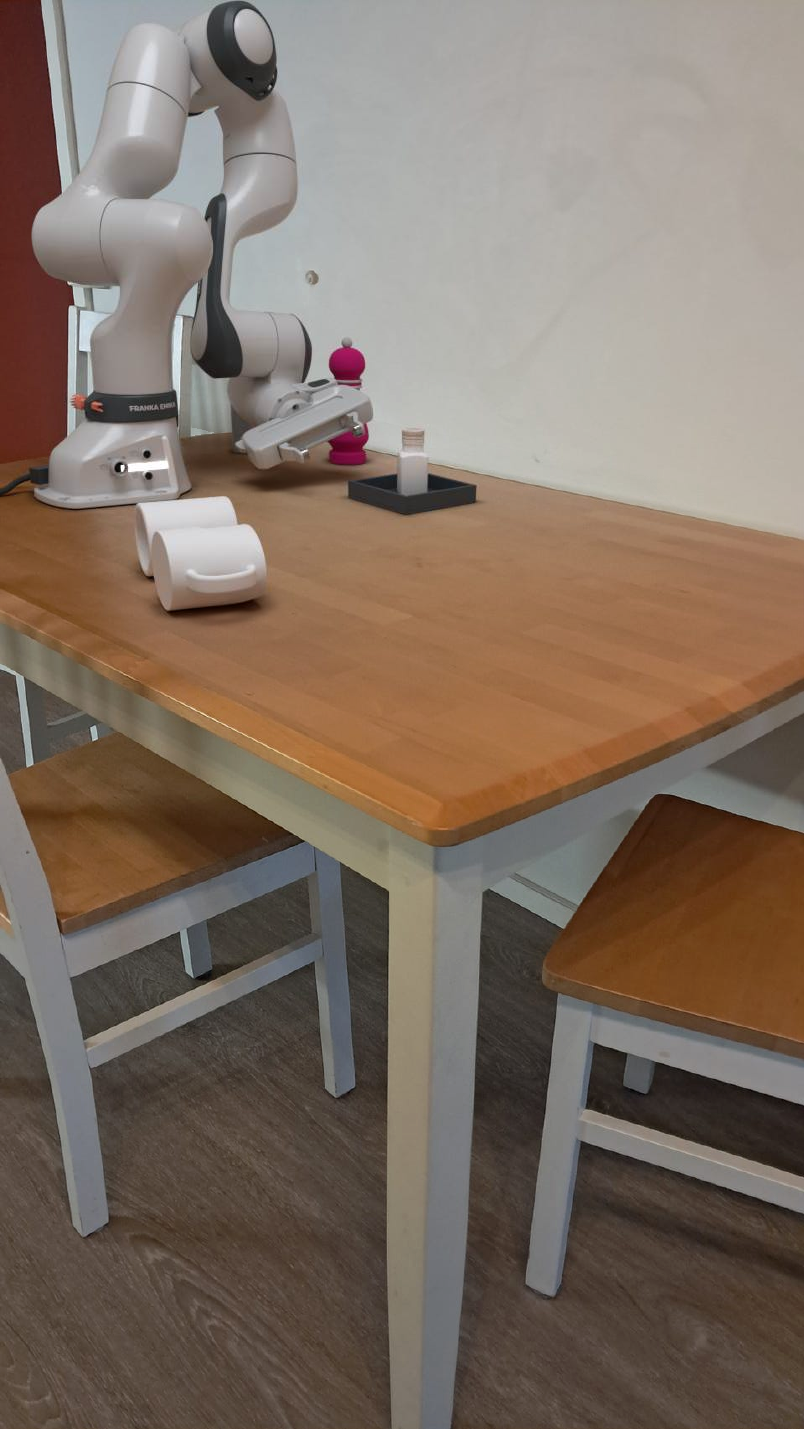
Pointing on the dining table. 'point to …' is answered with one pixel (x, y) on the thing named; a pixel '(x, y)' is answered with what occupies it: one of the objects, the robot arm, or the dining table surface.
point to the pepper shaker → (412, 463)
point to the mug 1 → (177, 520)
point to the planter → (238, 428)
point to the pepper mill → (347, 372)
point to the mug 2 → (208, 566)
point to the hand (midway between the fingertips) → (333, 444)
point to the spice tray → (386, 495)
